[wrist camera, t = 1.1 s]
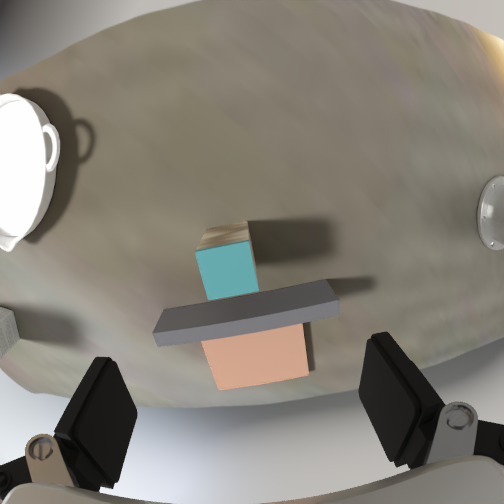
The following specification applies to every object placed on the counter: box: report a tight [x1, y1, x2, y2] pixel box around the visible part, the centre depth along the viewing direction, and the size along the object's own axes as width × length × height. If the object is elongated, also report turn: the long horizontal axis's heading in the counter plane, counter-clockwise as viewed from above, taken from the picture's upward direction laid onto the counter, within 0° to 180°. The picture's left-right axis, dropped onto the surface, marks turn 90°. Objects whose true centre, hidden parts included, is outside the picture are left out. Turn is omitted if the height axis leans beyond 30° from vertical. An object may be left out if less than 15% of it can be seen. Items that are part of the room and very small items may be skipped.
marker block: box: [195, 221, 259, 300], centre depth 32 cm, size 5×5×9 cm
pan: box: [0, 93, 60, 252], centre depth 30 cm, size 24×27×4 cm
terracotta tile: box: [201, 323, 309, 390], centre depth 41 cm, size 14×10×1 cm
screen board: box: [152, 279, 340, 347], centre depth 35 cm, size 22×2×6 cm, turn 101°
